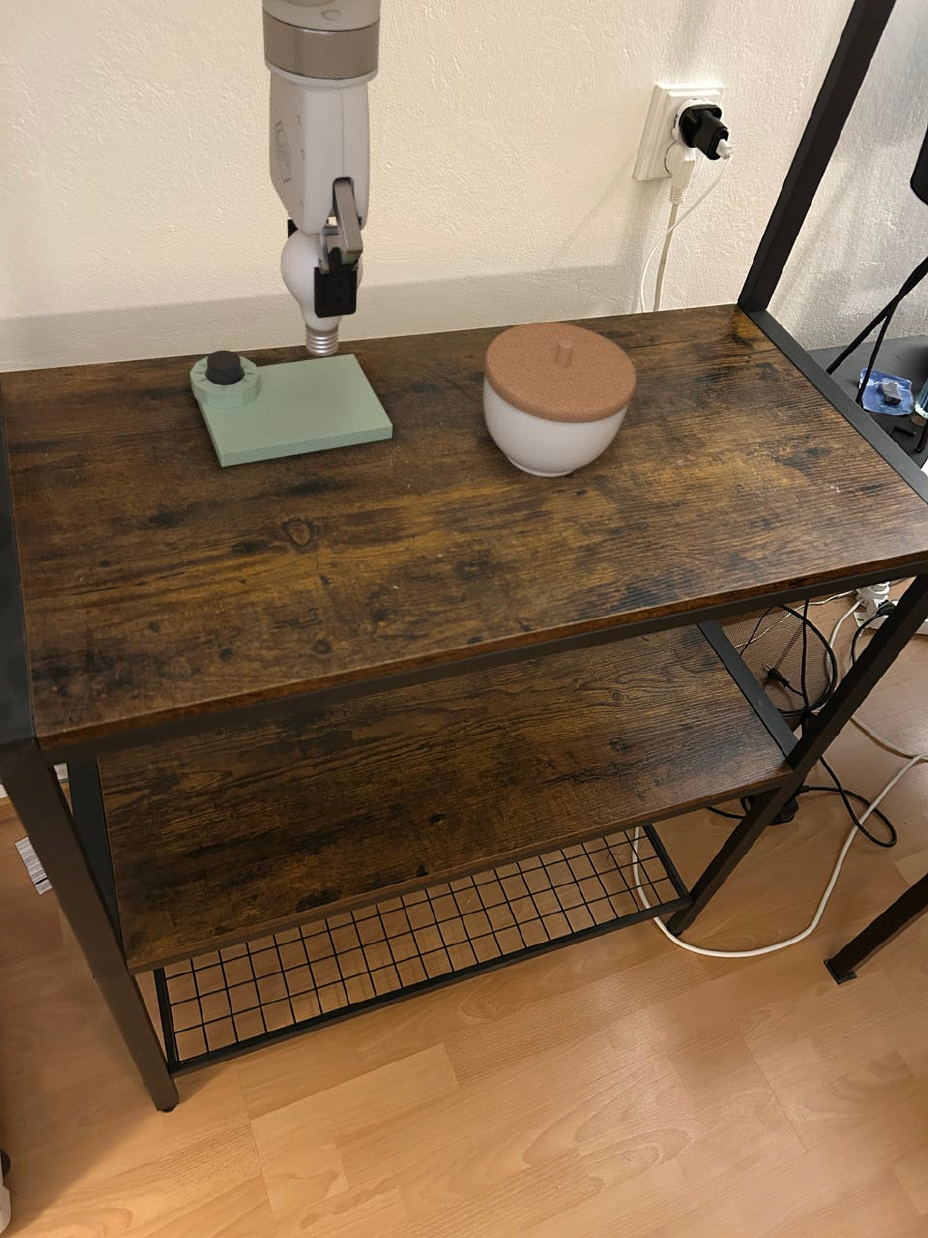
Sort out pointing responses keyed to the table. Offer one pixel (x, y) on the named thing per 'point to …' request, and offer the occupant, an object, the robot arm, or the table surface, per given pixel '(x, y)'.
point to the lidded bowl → (555, 395)
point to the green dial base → (289, 409)
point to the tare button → (224, 367)
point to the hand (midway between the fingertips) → (321, 287)
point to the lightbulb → (311, 289)
